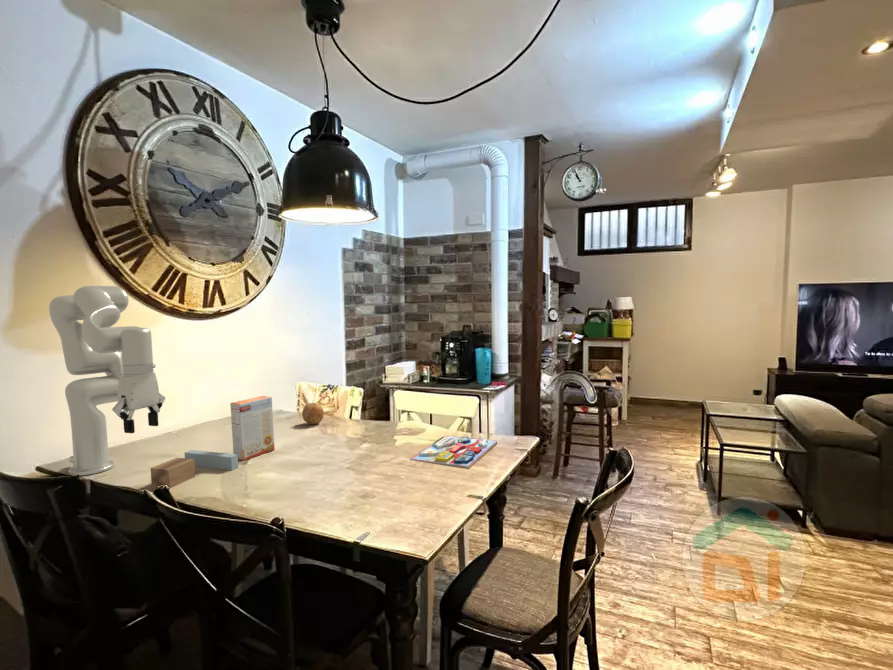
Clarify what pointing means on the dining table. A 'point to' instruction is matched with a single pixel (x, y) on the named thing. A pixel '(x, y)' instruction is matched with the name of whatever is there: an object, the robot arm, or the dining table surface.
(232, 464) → the batten
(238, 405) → the cracker box
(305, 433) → the dining table surface
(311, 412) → the onion
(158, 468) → the walnut block
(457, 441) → the puzzle board
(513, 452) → the dining table surface
